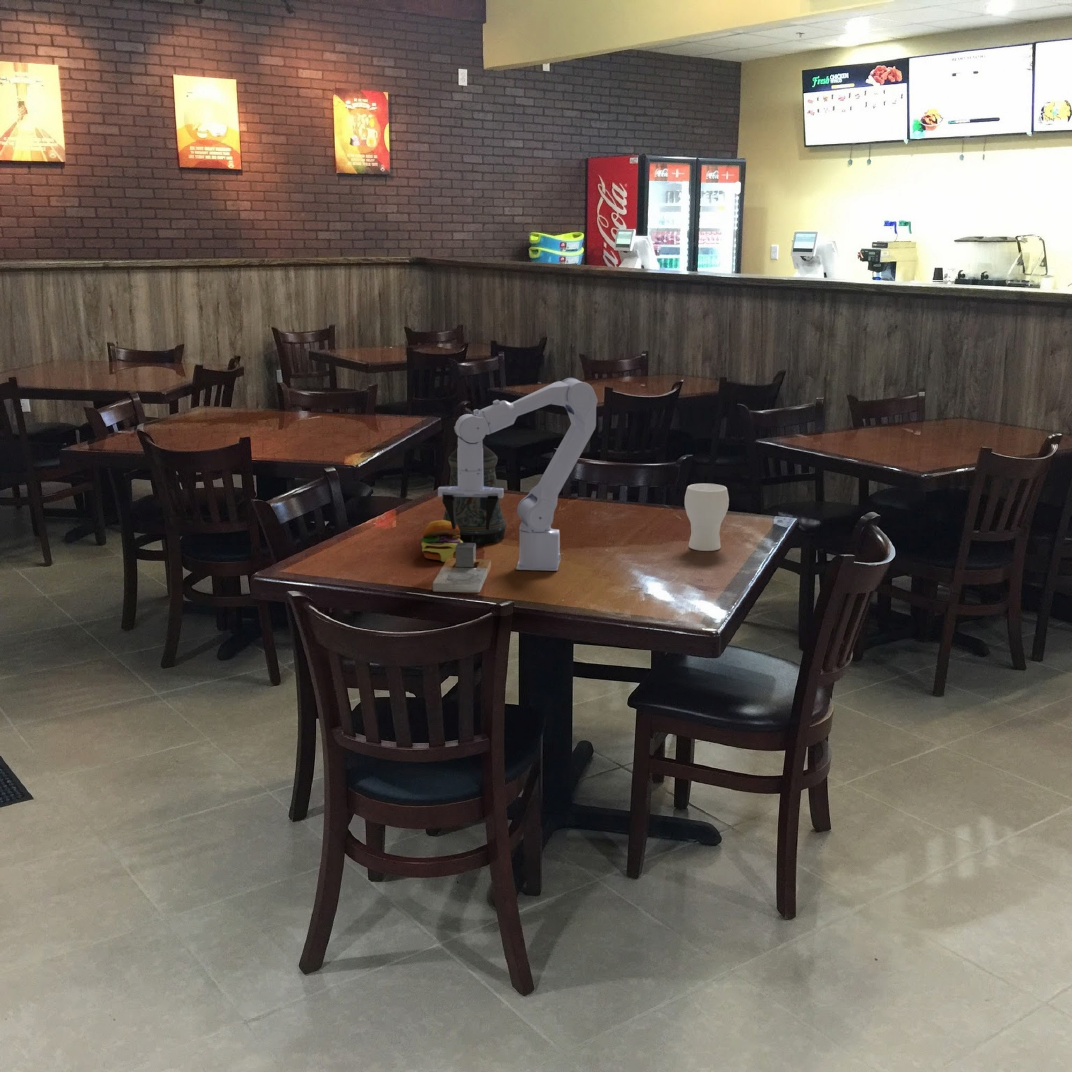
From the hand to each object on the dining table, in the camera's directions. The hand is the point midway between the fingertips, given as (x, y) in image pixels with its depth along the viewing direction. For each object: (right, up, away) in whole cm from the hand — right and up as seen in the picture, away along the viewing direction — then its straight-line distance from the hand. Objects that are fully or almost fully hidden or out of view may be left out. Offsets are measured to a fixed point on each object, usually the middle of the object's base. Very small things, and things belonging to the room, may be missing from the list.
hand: (471, 528), depth 254 cm
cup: (+56, -5, +23) cm, 61 cm away
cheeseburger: (-8, -7, +14) cm, 17 cm away
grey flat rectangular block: (-2, -11, -4) cm, 12 cm away
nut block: (-1, -10, +1) cm, 10 cm away
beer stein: (-2, -2, +33) cm, 33 cm away
